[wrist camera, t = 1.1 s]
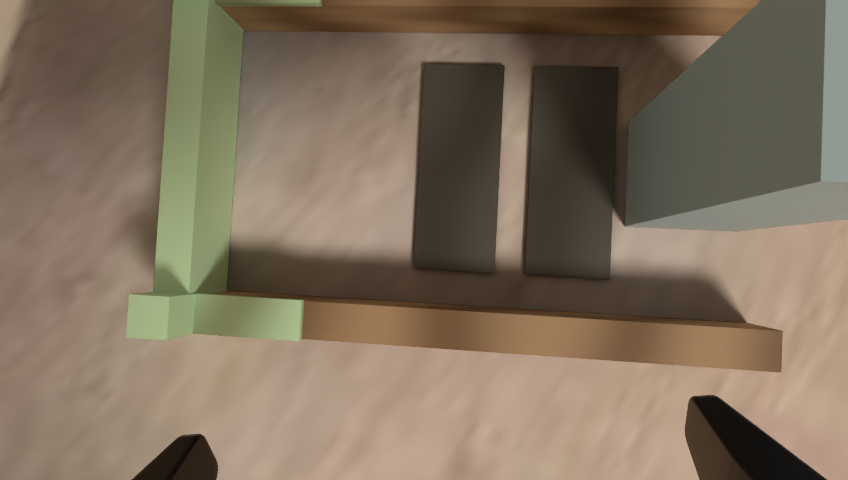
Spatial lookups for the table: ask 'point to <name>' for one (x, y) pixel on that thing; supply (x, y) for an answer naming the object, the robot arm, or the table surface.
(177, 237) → the green end wall
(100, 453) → the table surface
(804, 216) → the blue-grey block
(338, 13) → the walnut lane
